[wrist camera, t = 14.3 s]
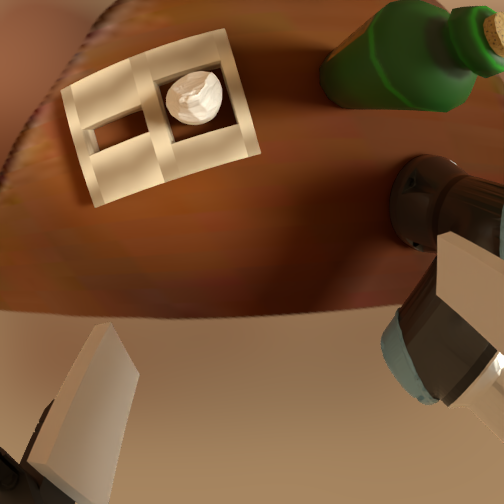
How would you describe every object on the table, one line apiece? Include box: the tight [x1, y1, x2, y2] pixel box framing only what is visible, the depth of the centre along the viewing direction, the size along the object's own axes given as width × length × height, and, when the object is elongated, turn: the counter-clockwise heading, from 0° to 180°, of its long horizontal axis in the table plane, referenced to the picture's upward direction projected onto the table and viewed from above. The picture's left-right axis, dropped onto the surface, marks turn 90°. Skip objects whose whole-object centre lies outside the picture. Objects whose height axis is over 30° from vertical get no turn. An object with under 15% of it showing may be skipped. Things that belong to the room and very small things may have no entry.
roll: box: [166, 71, 222, 125], centre depth 30 cm, size 6×12×6 cm
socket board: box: [61, 28, 261, 208], centre depth 34 cm, size 16×21×4 cm
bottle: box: [319, 0, 504, 112], centre depth 23 cm, size 11×11×28 cm
